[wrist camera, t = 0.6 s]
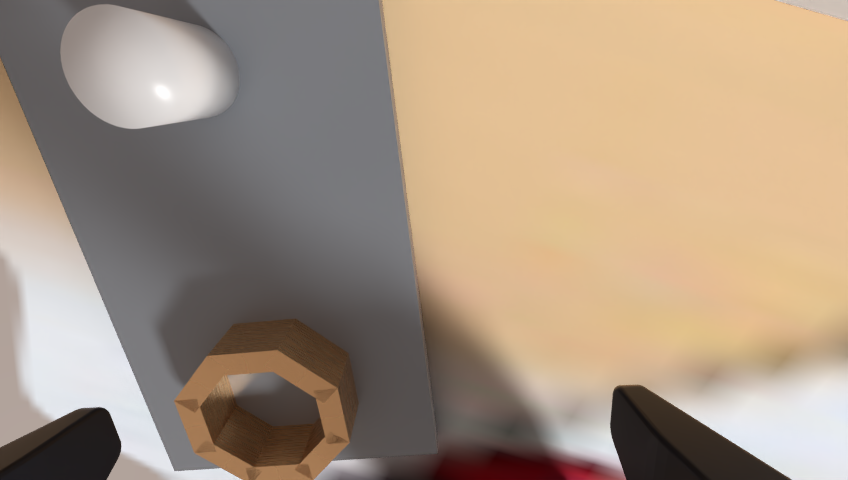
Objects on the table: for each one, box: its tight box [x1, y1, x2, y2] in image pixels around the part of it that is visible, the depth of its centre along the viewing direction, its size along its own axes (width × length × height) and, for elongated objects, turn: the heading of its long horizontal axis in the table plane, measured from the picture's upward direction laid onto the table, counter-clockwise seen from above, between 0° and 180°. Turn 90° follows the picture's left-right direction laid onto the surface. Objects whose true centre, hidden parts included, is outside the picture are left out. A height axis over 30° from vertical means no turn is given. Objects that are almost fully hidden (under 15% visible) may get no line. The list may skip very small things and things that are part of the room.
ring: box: [174, 319, 359, 480], centre depth 19 cm, size 7×7×2 cm
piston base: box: [0, 0, 438, 471], centre depth 17 cm, size 24×14×5 cm, turn 6°
